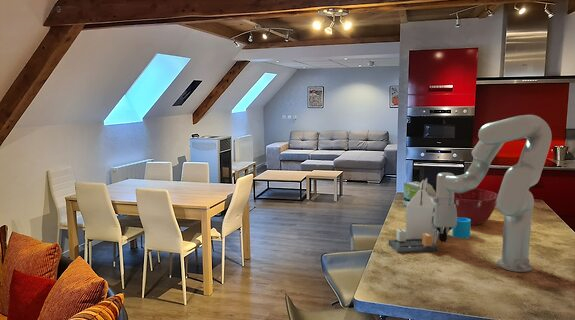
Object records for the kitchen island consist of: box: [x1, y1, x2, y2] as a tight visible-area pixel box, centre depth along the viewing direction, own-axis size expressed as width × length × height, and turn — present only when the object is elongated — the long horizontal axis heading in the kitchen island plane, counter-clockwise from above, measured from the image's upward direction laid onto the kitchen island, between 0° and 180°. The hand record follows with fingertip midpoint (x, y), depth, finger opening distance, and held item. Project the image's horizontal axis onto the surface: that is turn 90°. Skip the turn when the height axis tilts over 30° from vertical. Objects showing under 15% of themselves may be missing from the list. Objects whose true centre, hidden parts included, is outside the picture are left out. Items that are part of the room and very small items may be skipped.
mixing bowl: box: [454, 188, 499, 226], centre depth 248 cm, size 28×28×16 cm
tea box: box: [403, 181, 434, 207], centre depth 280 cm, size 15×10×15 cm, turn 25°
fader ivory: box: [395, 228, 406, 242], centre depth 210 cm, size 4×3×5 cm
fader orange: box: [422, 233, 433, 246], centre depth 203 cm, size 4×3×5 cm
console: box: [388, 238, 439, 254], centre depth 207 cm, size 12×18×2 cm, turn 96°
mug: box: [451, 217, 472, 239], centre depth 225 cm, size 12×8×8 cm
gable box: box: [405, 177, 439, 245], centre depth 221 cm, size 22×13×28 cm, turn 157°
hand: (442, 241), depth 204 cm, fingers closed
